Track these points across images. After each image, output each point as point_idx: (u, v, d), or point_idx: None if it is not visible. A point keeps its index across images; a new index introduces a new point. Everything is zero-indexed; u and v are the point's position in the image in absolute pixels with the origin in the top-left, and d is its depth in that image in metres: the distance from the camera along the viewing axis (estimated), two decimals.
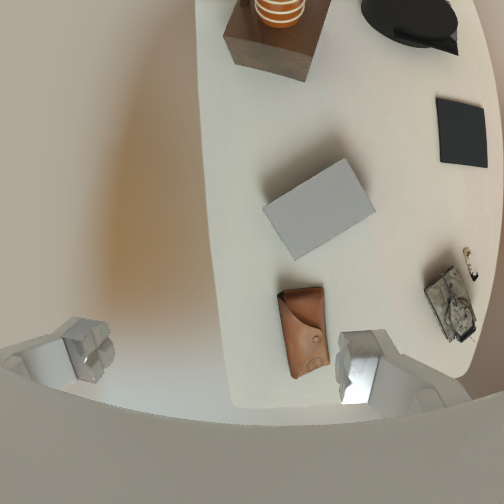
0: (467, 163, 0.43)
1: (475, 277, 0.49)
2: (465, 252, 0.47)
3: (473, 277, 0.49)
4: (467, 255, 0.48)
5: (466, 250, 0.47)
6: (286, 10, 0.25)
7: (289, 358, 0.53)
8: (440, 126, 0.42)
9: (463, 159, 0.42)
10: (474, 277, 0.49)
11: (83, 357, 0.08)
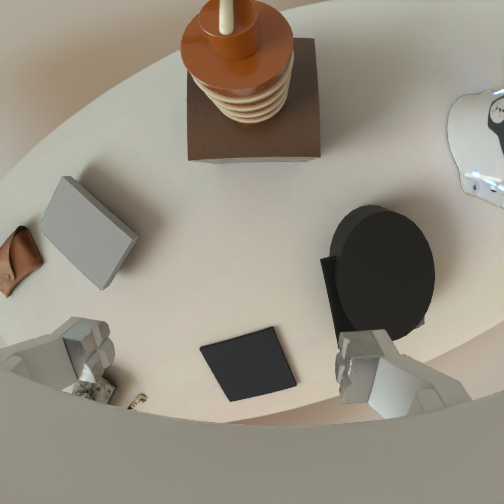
0: (217, 378, 0.46)
1: None
2: (141, 396, 0.49)
3: None
4: (140, 399, 0.49)
5: (143, 397, 0.49)
6: None
7: None
8: (238, 339, 0.44)
9: (218, 372, 0.46)
10: None
11: (83, 357, 0.08)
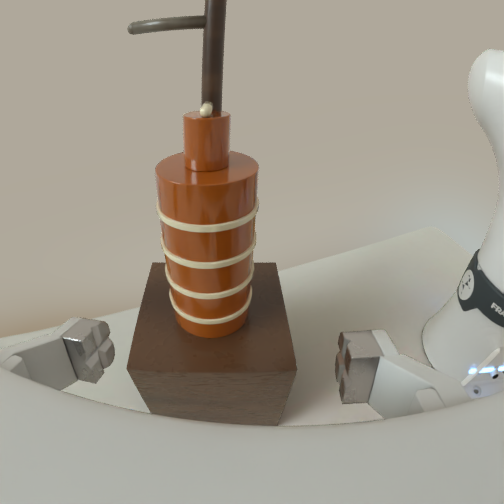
0: None
1: None
2: None
3: None
4: None
5: None
6: (169, 273, 0.19)
7: None
8: None
9: None
10: None
11: (83, 357, 0.08)
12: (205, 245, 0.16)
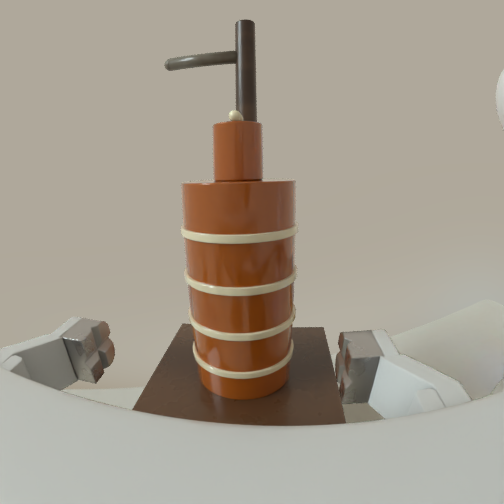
0: None
1: None
2: None
3: None
4: None
5: None
6: (191, 311, 0.16)
7: None
8: None
9: None
10: None
11: (83, 357, 0.08)
12: (232, 263, 0.14)
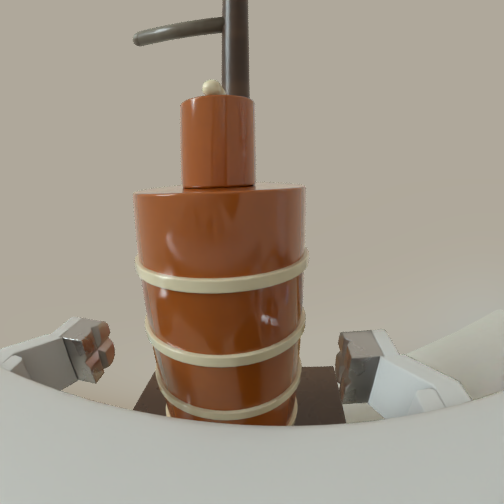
0: None
1: None
2: None
3: None
4: None
5: None
6: (157, 371, 0.11)
7: None
8: None
9: None
10: None
11: (83, 357, 0.08)
12: (206, 321, 0.08)
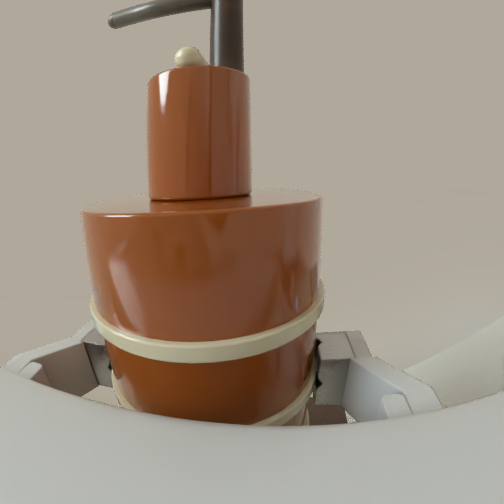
0: None
1: None
2: None
3: None
4: None
5: None
6: None
7: None
8: None
9: None
10: None
11: (106, 362, 0.08)
12: (180, 394, 0.05)
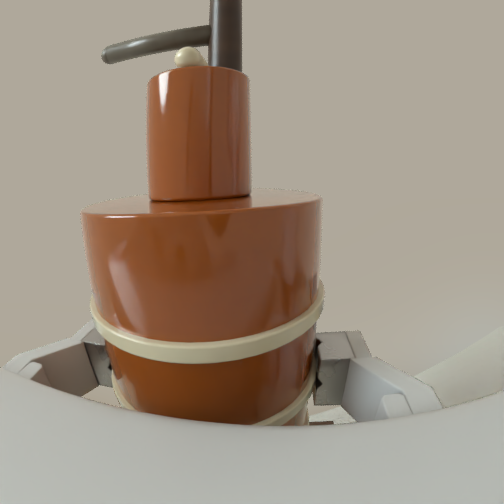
0: None
1: None
2: None
3: None
4: None
5: None
6: None
7: None
8: None
9: None
10: None
11: (106, 362, 0.08)
12: (180, 394, 0.05)
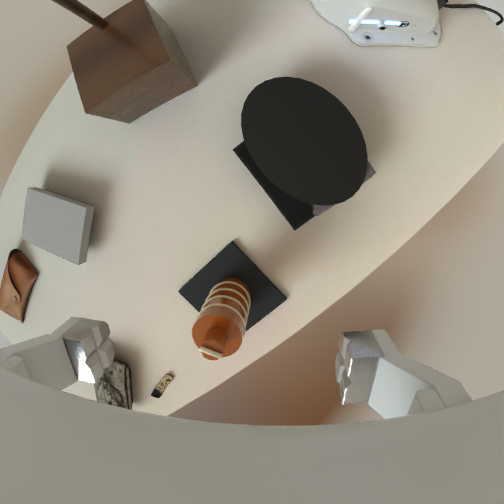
0: None
1: (156, 395, 0.53)
2: (167, 376, 0.52)
3: (154, 393, 0.53)
4: (166, 379, 0.52)
5: (169, 377, 0.52)
6: None
7: None
8: (206, 266, 0.45)
9: None
10: (155, 394, 0.53)
11: (83, 357, 0.08)
12: None
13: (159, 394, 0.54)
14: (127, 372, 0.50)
